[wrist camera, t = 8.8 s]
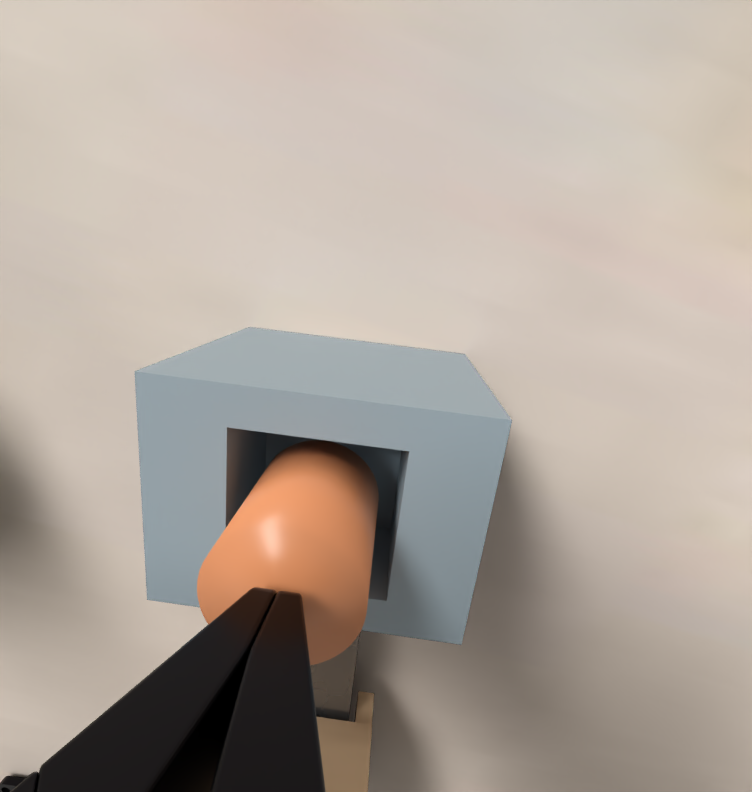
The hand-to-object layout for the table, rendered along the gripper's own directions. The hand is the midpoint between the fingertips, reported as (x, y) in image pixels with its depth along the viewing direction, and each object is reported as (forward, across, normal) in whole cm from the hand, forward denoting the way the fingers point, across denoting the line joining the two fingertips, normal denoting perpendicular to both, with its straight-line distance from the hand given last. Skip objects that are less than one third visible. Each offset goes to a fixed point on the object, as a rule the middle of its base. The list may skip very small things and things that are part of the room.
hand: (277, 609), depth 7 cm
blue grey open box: (+10, 0, 0) cm, 10 cm away
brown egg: (+4, 0, 0) cm, 4 cm away
